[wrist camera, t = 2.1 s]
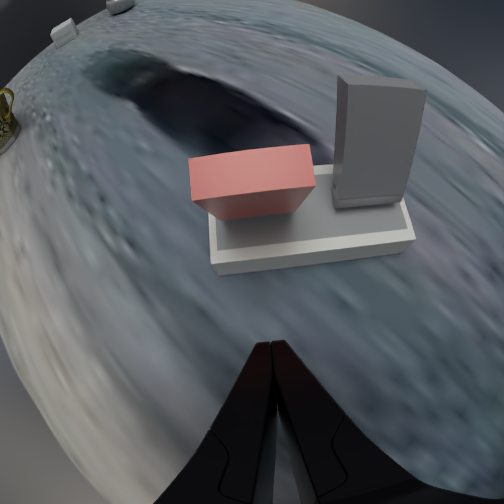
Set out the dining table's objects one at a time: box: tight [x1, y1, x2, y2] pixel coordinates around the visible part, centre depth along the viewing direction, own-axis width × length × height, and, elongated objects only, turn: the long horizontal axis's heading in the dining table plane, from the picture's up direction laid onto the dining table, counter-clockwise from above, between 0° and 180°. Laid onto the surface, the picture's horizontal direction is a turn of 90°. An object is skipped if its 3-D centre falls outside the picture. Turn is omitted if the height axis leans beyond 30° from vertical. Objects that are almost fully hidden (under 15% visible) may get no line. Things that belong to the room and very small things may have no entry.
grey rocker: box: [331, 75, 427, 208], centre depth 17 cm, size 2×5×9 cm, turn 95°
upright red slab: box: [189, 144, 316, 221], centre depth 16 cm, size 2×5×9 cm, turn 95°
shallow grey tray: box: [209, 164, 416, 276], centre depth 22 cm, size 7×15×3 cm, turn 96°
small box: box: [51, 18, 78, 48], centre depth 43 cm, size 6×6×5 cm
